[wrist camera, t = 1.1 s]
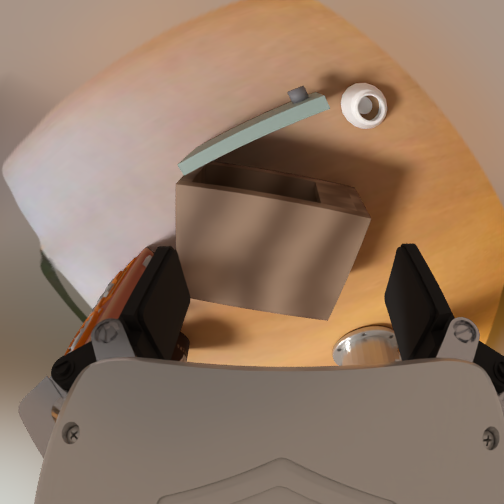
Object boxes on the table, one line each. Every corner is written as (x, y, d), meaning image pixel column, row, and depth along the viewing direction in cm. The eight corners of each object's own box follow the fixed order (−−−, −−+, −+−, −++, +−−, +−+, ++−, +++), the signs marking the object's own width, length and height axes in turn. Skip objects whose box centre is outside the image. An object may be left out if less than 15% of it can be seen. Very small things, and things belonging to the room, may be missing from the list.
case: (354, 187, 30) (371, 218, 24) (322, 279, 38) (327, 320, 32) (198, 159, 30) (175, 184, 24) (194, 258, 39) (178, 295, 32)
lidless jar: (345, 77, 23) (336, 120, 26) (351, 77, 21) (341, 125, 24) (388, 91, 23) (378, 132, 26) (398, 93, 21) (387, 138, 24)
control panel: (105, 284, 44) (147, 238, 37) (135, 309, 47) (184, 269, 40) (46, 385, 27) (69, 365, 20) (87, 412, 29) (129, 404, 23)
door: (310, 81, 24) (317, 82, 19) (320, 102, 25) (330, 108, 20) (191, 138, 28) (170, 153, 23) (201, 156, 29) (184, 175, 24)
